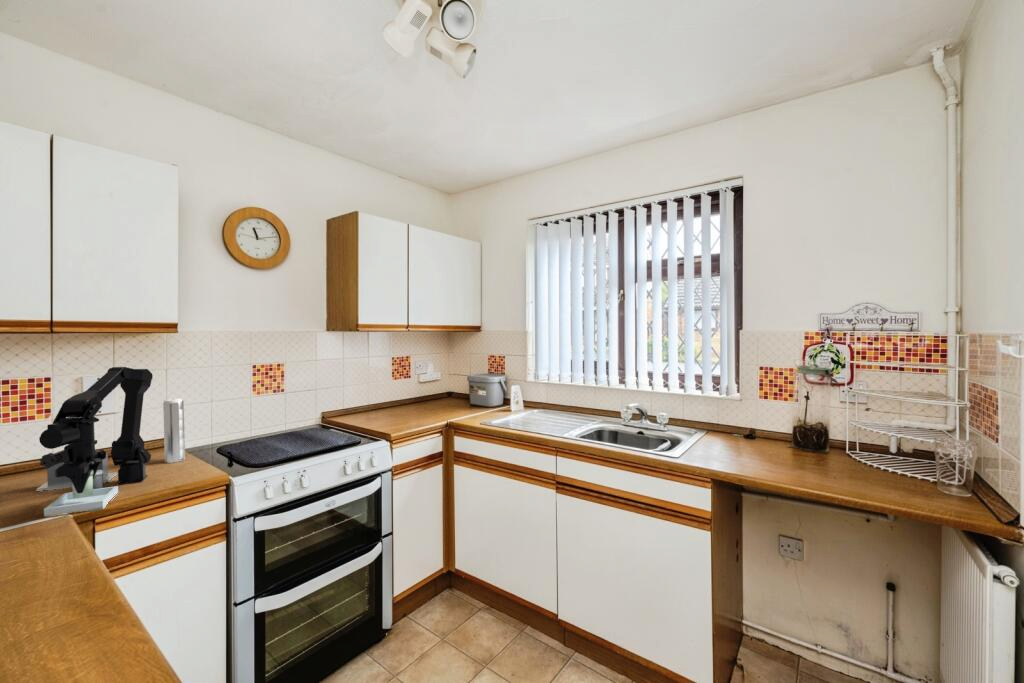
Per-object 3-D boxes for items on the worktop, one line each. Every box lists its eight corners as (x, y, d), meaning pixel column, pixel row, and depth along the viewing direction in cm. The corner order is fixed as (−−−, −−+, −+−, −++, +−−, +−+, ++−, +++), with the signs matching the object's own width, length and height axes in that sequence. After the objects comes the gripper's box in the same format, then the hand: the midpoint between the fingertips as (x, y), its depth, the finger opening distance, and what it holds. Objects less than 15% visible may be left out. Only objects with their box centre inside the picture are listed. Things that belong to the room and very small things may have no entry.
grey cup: (105, 489, 144) (104, 469, 144) (100, 494, 140) (99, 473, 140) (86, 492, 142) (85, 471, 142) (80, 497, 138) (79, 475, 138)
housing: (117, 474, 159) (116, 450, 159) (108, 482, 151) (107, 457, 151) (49, 483, 150) (48, 457, 150) (36, 491, 142) (35, 464, 142)
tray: (118, 493, 141) (117, 486, 141) (102, 509, 129) (102, 500, 129) (65, 501, 135) (65, 493, 135) (44, 518, 123) (43, 509, 123)
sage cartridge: (96, 491, 135) (95, 469, 135) (90, 496, 131) (89, 473, 131) (75, 494, 133) (74, 471, 133) (69, 499, 129) (68, 476, 128)
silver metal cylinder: (167, 464, 172) (166, 401, 171) (162, 460, 175) (160, 399, 175) (187, 460, 177) (185, 399, 176) (182, 457, 181) (180, 397, 180)
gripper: (59, 435, 136) (60, 485, 136) (28, 451, 119) (30, 506, 120) (105, 431, 141) (107, 479, 142) (82, 445, 125) (84, 499, 125)
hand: (83, 490), depth 132 cm, fingers closed on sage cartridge, 4 cm apart
